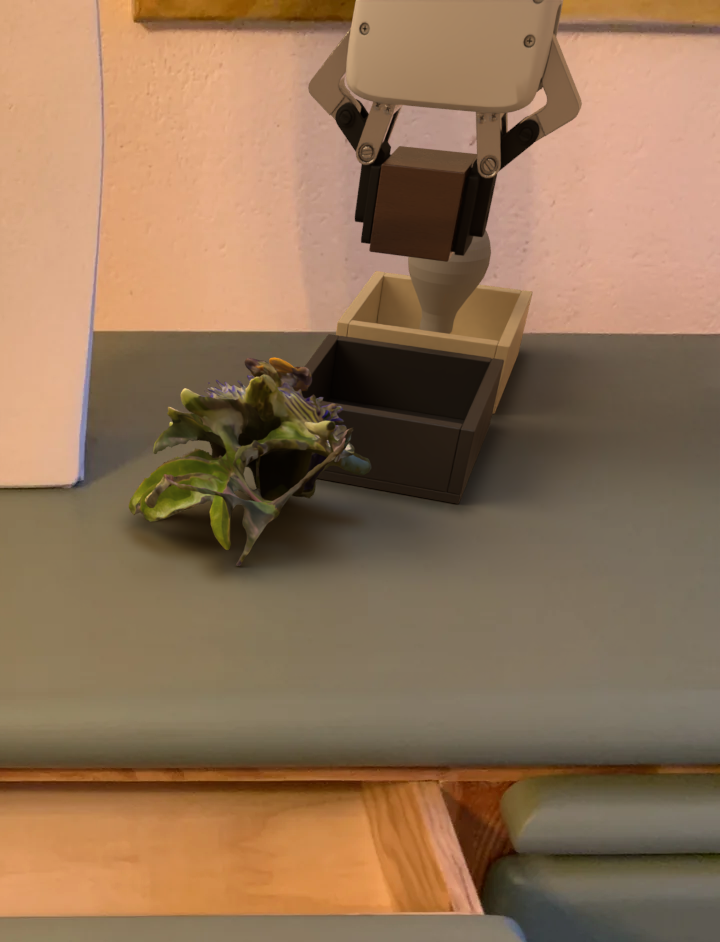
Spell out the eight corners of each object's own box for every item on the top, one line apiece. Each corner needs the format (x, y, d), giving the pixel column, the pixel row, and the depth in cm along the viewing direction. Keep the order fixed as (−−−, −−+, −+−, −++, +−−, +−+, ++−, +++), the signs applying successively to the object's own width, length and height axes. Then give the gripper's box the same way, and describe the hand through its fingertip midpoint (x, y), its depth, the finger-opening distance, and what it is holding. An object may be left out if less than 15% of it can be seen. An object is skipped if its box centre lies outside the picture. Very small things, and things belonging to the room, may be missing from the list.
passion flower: (258, 581, 73) (392, 429, 67) (250, 650, 63) (405, 481, 57) (116, 468, 70) (243, 300, 64) (86, 523, 61) (231, 332, 55)
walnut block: (448, 262, 64) (465, 173, 61) (368, 252, 65) (381, 164, 62) (462, 239, 67) (478, 153, 64) (385, 230, 68) (398, 145, 65)
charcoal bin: (489, 428, 77) (504, 359, 74) (458, 504, 69) (474, 431, 66) (320, 400, 80) (328, 333, 77) (272, 470, 72) (279, 399, 69)
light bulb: (385, 370, 83) (409, 220, 76) (399, 343, 86) (423, 198, 80) (462, 381, 81) (493, 229, 75) (473, 353, 85) (503, 206, 78)
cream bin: (518, 354, 87) (533, 291, 83) (494, 414, 79) (510, 346, 75) (366, 332, 90) (375, 270, 87) (328, 387, 82) (337, 321, 79)
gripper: (681, -170, 54) (575, 243, 66) (331, -179, 59) (292, 208, 71) (674, -165, 49) (560, 282, 61) (291, -175, 54) (256, 243, 66)
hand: (417, 239), depth 66 cm, fingers closed on walnut block, 4 cm apart
